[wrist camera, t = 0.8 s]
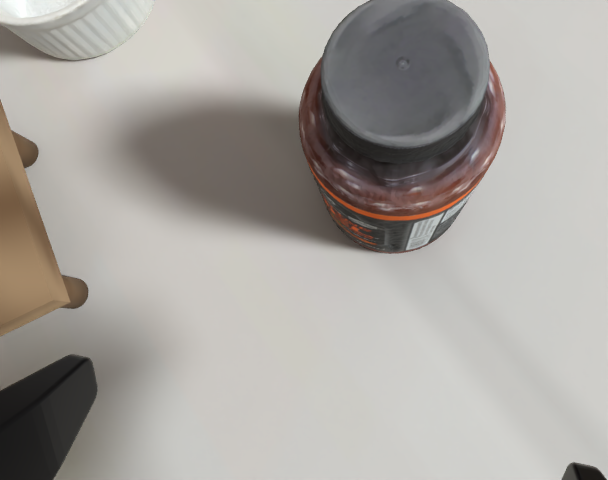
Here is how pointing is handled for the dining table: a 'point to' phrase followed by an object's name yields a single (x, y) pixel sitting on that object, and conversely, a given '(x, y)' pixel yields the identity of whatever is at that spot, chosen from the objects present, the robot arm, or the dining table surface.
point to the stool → (26, 243)
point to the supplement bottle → (401, 121)
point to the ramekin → (74, 24)
